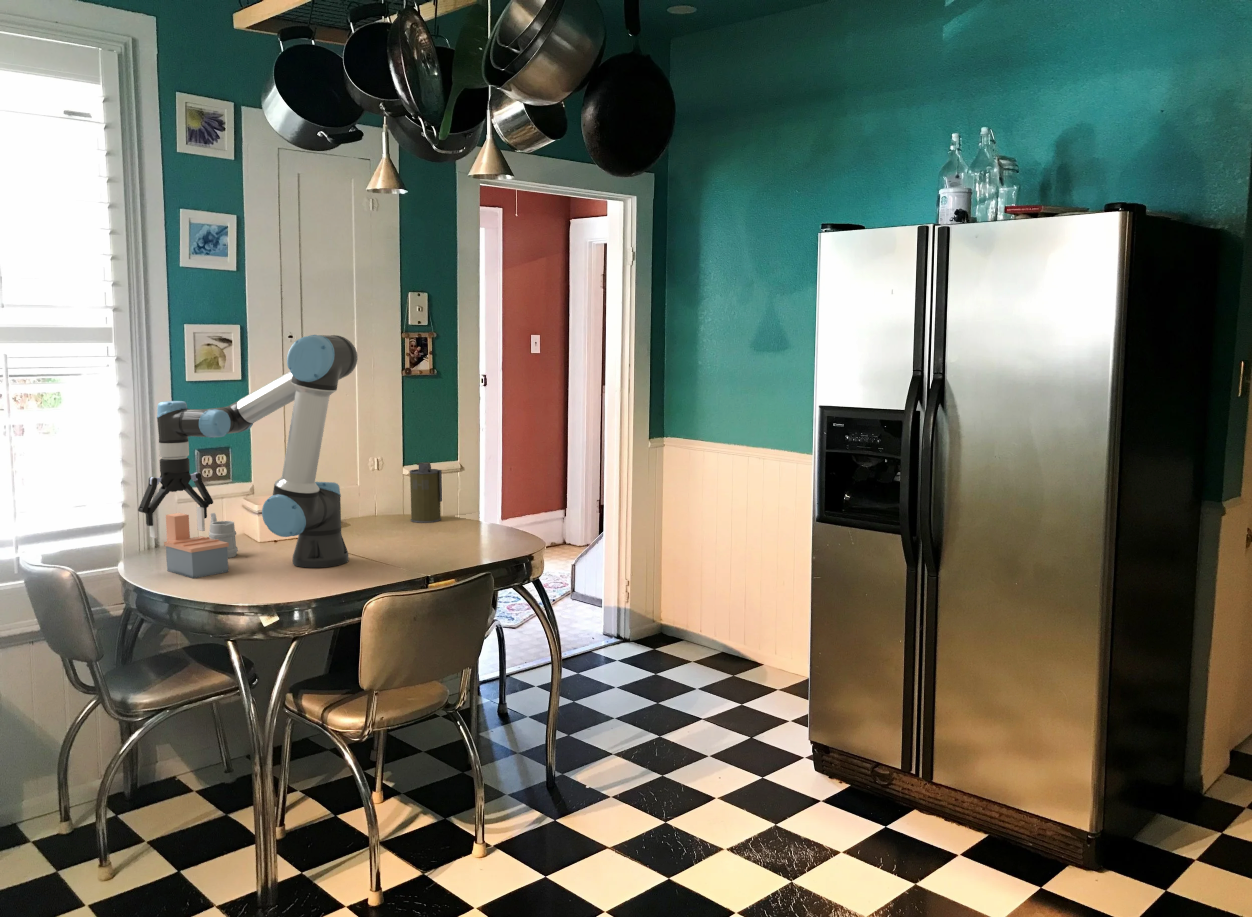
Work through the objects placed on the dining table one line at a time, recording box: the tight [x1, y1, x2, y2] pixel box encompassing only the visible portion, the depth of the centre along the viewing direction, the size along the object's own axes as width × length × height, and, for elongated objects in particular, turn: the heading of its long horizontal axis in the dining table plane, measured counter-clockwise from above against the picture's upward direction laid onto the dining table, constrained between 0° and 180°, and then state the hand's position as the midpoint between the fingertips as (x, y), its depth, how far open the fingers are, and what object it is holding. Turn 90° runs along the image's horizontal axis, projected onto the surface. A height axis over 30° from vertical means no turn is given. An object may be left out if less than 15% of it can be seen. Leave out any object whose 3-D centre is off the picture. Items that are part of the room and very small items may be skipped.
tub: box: [165, 546, 229, 579], centre depth 282 cm, size 14×10×7 cm
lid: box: [163, 512, 229, 553], centre depth 283 cm, size 20×11×8 cm, turn 50°
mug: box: [208, 512, 239, 559], centre depth 303 cm, size 8×12×12 cm, turn 46°
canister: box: [409, 462, 443, 524], centre depth 360 cm, size 11×10×20 cm
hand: (177, 533), depth 288 cm, fingers open, 13 cm apart
